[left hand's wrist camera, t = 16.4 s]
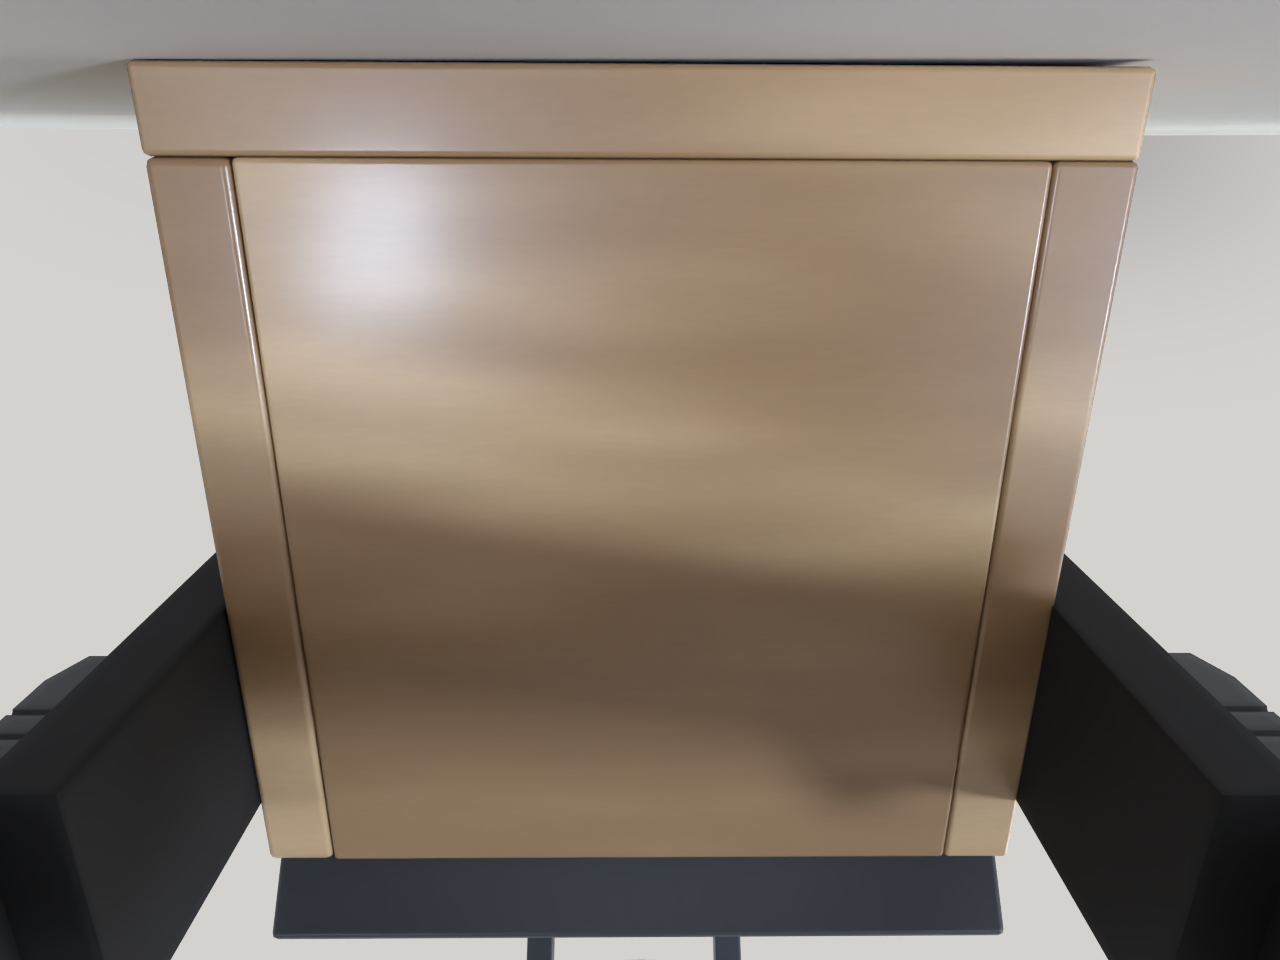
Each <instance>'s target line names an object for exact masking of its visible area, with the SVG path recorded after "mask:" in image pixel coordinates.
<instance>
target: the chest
mask: <svg viewBox="0 0 1280 960" xmlns="http://www.w3.org/2000/svg"><path fill="white" fill-rule="evenodd" d="M127 68H128V74H129V79H130V85H131V91H132V96H133V102H134V107H135V113H136V118H137V124H138V129H139V135H140V140H141V146H142V149H143V151H144V153H145V154H147V155H149V156H155V157H153V158H150V159H149V160H148V161H147V172H148V178H149V183H150V189H151V194H152V200H153V205H154V211H155V216H156V222H157V227H158V233H159V238H160V244H161V249H162V255H163V261H164V266H165V272H166V277H167V283H168V288H169V294H170V299H171V305H172V311H173V316H174V321H175V327H176V333H177V338H178V344H179V349H180V355H181V360H182V366H183V371H184V377H185V382H186V388H187V393H188V399H189V404H190V410H191V416H192V421H193V427H194V432H195V438H196V443H197V449H198V454H199V460H200V466H201V471H202V477H203V482H204V488H205V493H206V499H207V504H208V510H209V515H210V521H211V527H212V532H213V537H214V543H215V549H216V554H217V560H218V565H219V571H220V576H221V582H222V588H223V593H224V599H225V604H226V610H227V615H228V621H229V626H230V632H231V637H232V643H233V648H234V654H235V660H236V665H237V671H238V676H239V682H240V687H241V693H242V698H243V704H244V709H245V715H246V720H247V726H248V732H249V737H250V743H251V748H252V754H253V759H254V765H255V770H256V776H257V781H258V787H259V793H260V798H261V804H262V809H263V815H264V820H265V826H266V831H267V837H268V842H269V848H270V853H271V855H272V856H273V857H275V858H327V857H330V856H332V855H333V853H334V854H335V857H336V858H338V859H404V858H628V857H852V856H941V855H942V854H943V852H944V854H945V855H947V856H1003V855H1005V854H1006V853H1007V848H1008V843H1009V838H1010V833H1011V827H1012V822H1013V817H1014V812H1015V806H1016V801H1017V800H1016V799H1017V793H1018V788H1019V783H1020V777H1021V772H1022V767H1023V761H1024V756H1025V750H1026V745H1027V740H1028V734H1029V729H1030V724H1031V718H1032V713H1033V708H1034V702H1035V697H1036V691H1037V686H1038V681H1039V675H1040V670H1041V665H1042V659H1043V654H1044V649H1045V643H1046V638H1047V633H1048V627H1049V622H1050V616H1051V611H1052V606H1054V603H1055V598H1056V593H1057V587H1058V582H1059V577H1060V572H1061V566H1062V561H1063V556H1064V551H1065V546H1066V540H1067V535H1068V530H1069V525H1070V519H1071V514H1072V509H1073V504H1074V498H1075V493H1076V488H1077V483H1078V478H1079V472H1080V467H1081V462H1082V457H1083V452H1084V446H1085V441H1086V436H1087V431H1088V426H1089V420H1090V415H1091V410H1092V405H1093V399H1094V394H1095V389H1096V384H1097V379H1098V373H1099V368H1100V363H1101V358H1102V352H1103V347H1104V342H1105V337H1106V331H1107V326H1108V321H1109V316H1110V310H1111V305H1112V300H1113V295H1114V290H1115V285H1116V279H1117V274H1118V269H1119V264H1120V258H1121V253H1122V248H1123V243H1124V238H1125V232H1126V227H1127V222H1128V217H1129V211H1130V206H1131V201H1132V196H1133V191H1134V185H1135V180H1136V175H1137V170H1138V166H1137V164H1136V163H1134V162H1133V160H1136V159H1138V157H1139V155H1140V153H1141V147H1142V142H1143V137H1144V132H1145V127H1146V121H1147V116H1148V111H1149V106H1150V101H1151V95H1152V90H1153V85H1154V80H1155V70H1154V69H1152V68H1151V67H1112V66H958V65H805V64H651V63H498V62H344V61H191V60H133V61H131V62H129V63H128V67H127Z"/></svg>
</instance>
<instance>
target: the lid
mask: <svg viewBox="0 0 1280 960" xmlns="http://www.w3.org/2000/svg"><path fill="white" fill-rule="evenodd" d="M1001 933H1003V922H1002V913H1001V905H1000V897H999V888H998V880H997V871H996V863H995V856H947V855H945V854H944V852H943V854H942V855H941V856H852V857H628V858H404V859H338V858H336V857H335V854H334V853H333V855H332V856H330V857H327V858H281V866H280V875H279V883H278V892H277V901H276V909H275V918H274V927H273V936H274V937H275V938H277V939H372V938H528V942H527V960H554V937H713V952H714V960H741V950H740V936H910V935H911V936H912V935H999V934H1001Z"/></svg>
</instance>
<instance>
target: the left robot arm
mask: <svg viewBox="0 0 1280 960" xmlns="http://www.w3.org/2000/svg"><path fill="white" fill-rule="evenodd" d="M1016 800H1017V802H1018V804H1019V806H1020V807H1021V809H1022V811H1023V813H1024V814H1025V816H1026V818H1027V819H1028V821H1029V823H1030V825H1031V826H1032V828H1033V830H1034V832H1035V833H1036V835H1037V837H1038V839H1039V840H1040V842H1041V844H1042V846H1043V847H1044V849H1045V851H1046V852H1047V854H1048V856H1049V858H1050V859H1051V861H1052V863H1053V865H1054V866H1055V868H1056V870H1057V872H1058V873H1059V875H1060V877H1061V878H1062V880H1063V882H1064V884H1065V885H1066V887H1067V889H1068V891H1069V892H1070V894H1071V896H1072V898H1073V899H1074V901H1075V903H1076V904H1077V906H1078V908H1079V910H1080V911H1081V913H1082V915H1083V917H1084V918H1085V920H1086V922H1087V924H1088V925H1089V927H1090V929H1091V930H1092V932H1093V934H1094V936H1095V937H1096V939H1097V941H1098V943H1099V944H1100V946H1101V948H1102V950H1103V951H1104V953H1105V955H1106V956H1107V958H1108V960H1280V717H1279V716H1278V715H1276V714H1275V713H1274V712H1268V711H1267V706H1266V705H1265V704H1264V703H1263V702H1262V701H1261V700H1259V699H1258V698H1257V697H1256V696H1255V695H1254V694H1253V693H1252V692H1251V691H1249V690H1248V689H1247V688H1246V687H1245V686H1244V685H1243V684H1242V683H1240V682H1239V681H1238V680H1237V679H1236V678H1235V677H1233V676H1231V675H1229V674H1227V673H1226V672H1224V671H1222V670H1220V669H1218V668H1217V667H1215V666H1213V665H1211V664H1209V663H1207V662H1206V661H1204V660H1202V659H1200V658H1198V657H1196V656H1195V655H1193V654H1191V653H1168V652H1166V651H1165V650H1164V649H1163V648H1162V647H1161V646H1160V645H1159V644H1158V643H1157V642H1156V641H1155V640H1154V639H1153V638H1152V637H1151V636H1150V635H1149V634H1148V633H1147V632H1146V631H1145V630H1143V629H1142V628H1141V627H1140V626H1139V625H1138V624H1137V623H1136V622H1135V621H1134V620H1133V619H1132V618H1131V617H1130V616H1129V615H1128V614H1127V613H1126V612H1125V611H1124V610H1123V609H1122V608H1121V607H1119V606H1118V605H1117V604H1116V603H1115V602H1114V601H1113V600H1112V599H1111V598H1110V597H1109V596H1108V595H1107V594H1106V593H1105V592H1104V591H1103V590H1102V589H1101V588H1100V587H1099V586H1097V585H1096V584H1095V583H1094V582H1093V581H1092V580H1091V579H1090V578H1089V577H1088V576H1087V575H1086V574H1085V573H1084V572H1083V571H1082V570H1081V569H1080V568H1079V567H1078V566H1077V565H1076V564H1074V563H1073V562H1072V561H1071V560H1070V559H1069V558H1068V557H1067V556H1066V555H1065V554H1064V556H1063V561H1062V566H1061V572H1060V577H1059V582H1058V587H1057V593H1056V598H1055V603H1054V606H1052V611H1051V616H1050V622H1049V627H1048V633H1047V638H1046V643H1045V649H1044V654H1043V659H1042V665H1041V670H1040V675H1039V681H1038V686H1037V691H1036V697H1035V702H1034V708H1033V713H1032V718H1031V724H1030V729H1029V734H1028V740H1027V745H1026V750H1025V756H1024V761H1023V767H1022V772H1021V777H1020V783H1019V788H1018V793H1017V799H1016ZM260 804H261V798H260V793H259V787H258V781H257V776H256V770H255V765H254V759H253V754H252V748H251V743H250V737H249V732H248V726H247V720H246V715H245V709H244V704H243V698H242V693H241V687H240V682H239V676H238V671H237V665H236V660H235V654H234V648H233V643H232V637H231V632H230V626H229V621H228V615H227V610H226V604H225V599H224V593H223V588H222V582H221V576H220V571H219V565H218V560H217V554H216V553H215V554H214V555H213V556H212V557H211V558H210V559H209V560H207V561H206V562H205V563H204V564H203V565H202V566H201V567H200V568H199V569H198V570H197V571H196V572H195V573H194V574H193V575H192V576H191V577H190V578H189V579H188V580H187V581H185V582H184V583H183V584H182V585H181V586H180V587H179V588H178V589H177V590H176V591H175V592H174V593H173V594H172V595H171V596H170V597H169V598H168V599H167V600H166V601H165V602H164V603H162V604H161V605H160V606H159V607H158V608H157V609H156V610H155V611H154V612H153V613H152V614H151V615H150V616H149V617H148V618H147V619H146V620H145V621H144V622H143V623H142V624H141V625H139V626H138V627H137V628H136V629H135V630H134V631H133V632H132V633H131V634H130V635H129V636H128V637H127V638H126V639H125V640H124V641H123V642H122V643H121V644H120V645H119V646H117V648H115V649H114V650H113V651H112V652H111V653H110V654H109V655H108V656H89V657H87V658H85V659H83V660H82V661H80V662H78V663H76V664H74V665H72V666H71V667H69V668H67V669H65V670H63V671H62V672H60V673H58V674H56V675H54V676H52V677H51V678H49V679H47V680H45V681H44V682H43V683H42V684H41V685H39V686H38V687H37V688H36V689H35V690H34V691H33V692H32V693H30V694H29V695H28V696H27V697H26V698H25V699H24V700H23V701H22V702H20V703H19V704H18V705H17V706H16V707H15V708H14V709H13V713H12V715H6V716H5V717H4V718H3V719H1V720H0V960H171V958H172V956H173V955H174V953H175V951H176V949H177V948H178V946H179V944H180V942H181V941H182V939H183V937H184V935H185V934H186V932H187V930H188V928H189V927H190V925H191V923H192V922H193V920H194V918H195V916H196V915H197V913H198V911H199V909H200V908H201V906H202V904H203V903H204V901H205V899H206V897H207V896H208V894H209V892H210V890H211V889H212V887H213V885H214V883H215V882H216V880H217V878H218V877H219V875H220V873H221V871H222V870H223V868H224V866H225V864H226V863H227V861H228V859H229V857H230V856H231V854H232V852H233V850H234V849H235V847H236V845H237V844H238V842H239V840H240V838H241V837H242V835H243V833H244V831H245V830H246V828H247V826H248V825H249V823H250V821H251V819H252V818H253V816H254V814H255V812H256V811H257V809H258V807H259V805H260Z"/></svg>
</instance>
